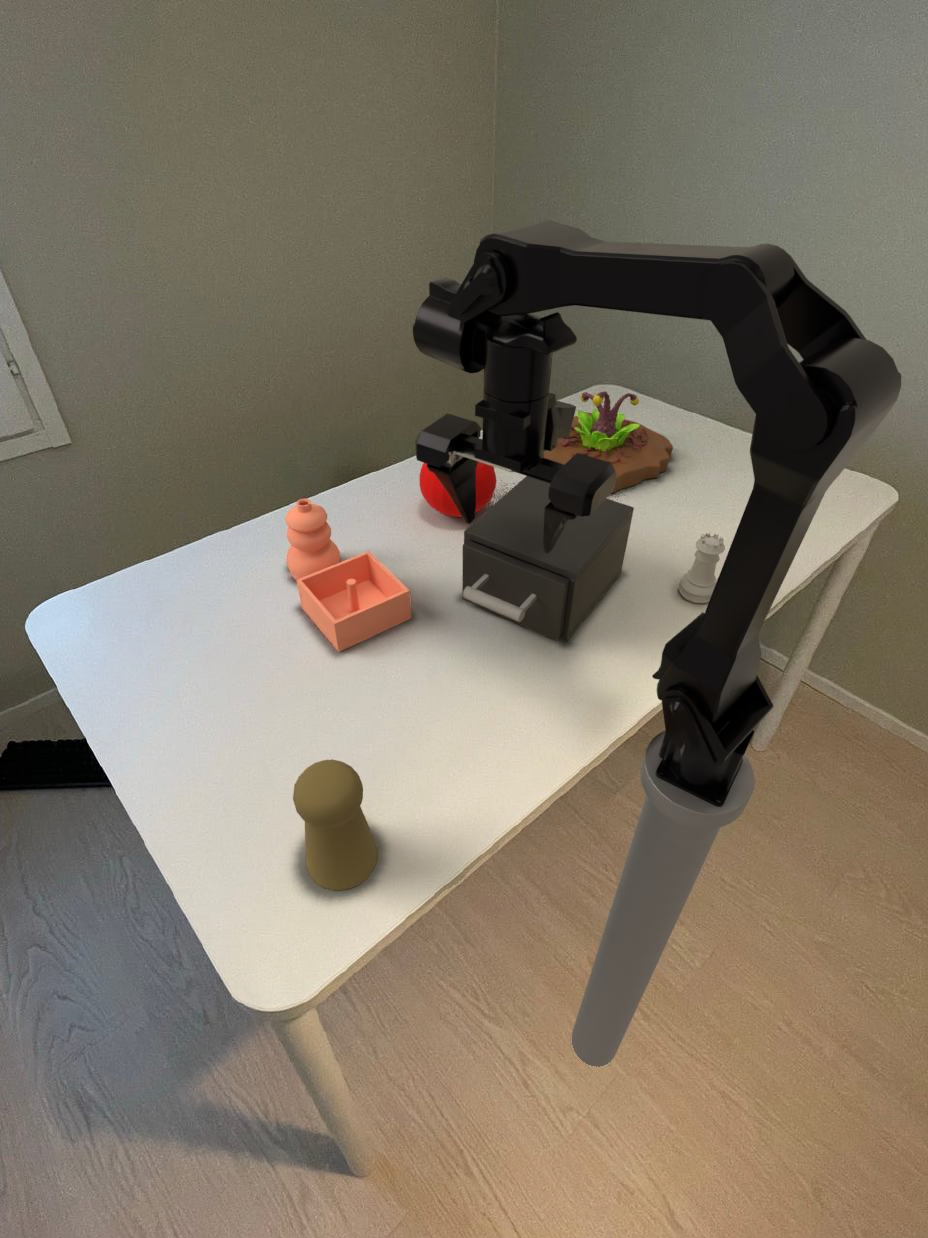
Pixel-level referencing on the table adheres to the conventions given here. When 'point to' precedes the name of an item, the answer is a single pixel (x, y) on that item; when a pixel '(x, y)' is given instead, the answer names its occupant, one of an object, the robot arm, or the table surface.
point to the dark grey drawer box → (559, 544)
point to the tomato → (441, 498)
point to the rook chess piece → (702, 570)
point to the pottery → (341, 582)
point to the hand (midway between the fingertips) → (508, 536)
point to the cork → (334, 825)
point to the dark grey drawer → (514, 589)
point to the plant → (614, 442)
